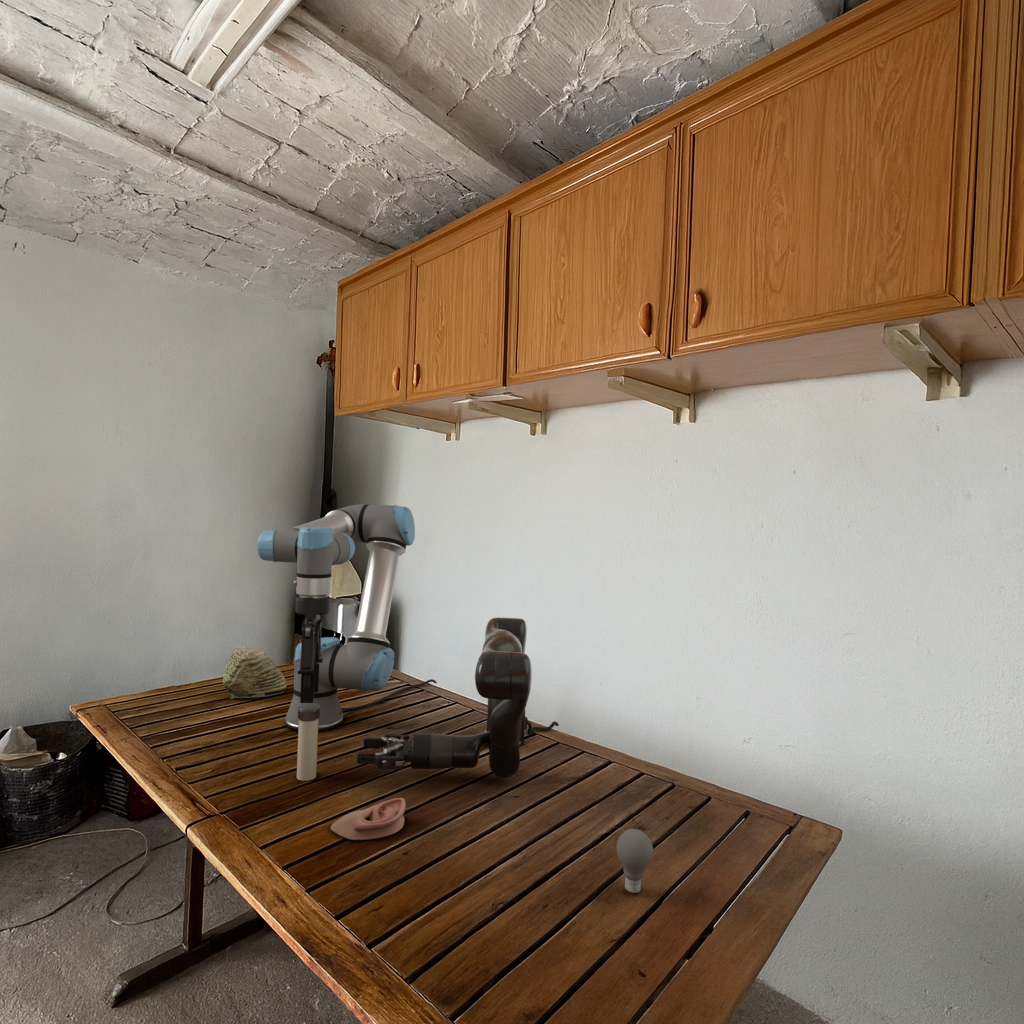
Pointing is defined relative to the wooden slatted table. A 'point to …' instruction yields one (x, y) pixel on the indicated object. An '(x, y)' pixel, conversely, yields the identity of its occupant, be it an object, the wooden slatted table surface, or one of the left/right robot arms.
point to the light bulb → (634, 857)
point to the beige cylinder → (307, 750)
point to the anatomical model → (372, 821)
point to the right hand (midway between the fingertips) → (360, 750)
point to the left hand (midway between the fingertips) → (309, 696)
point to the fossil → (252, 674)
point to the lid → (308, 712)
